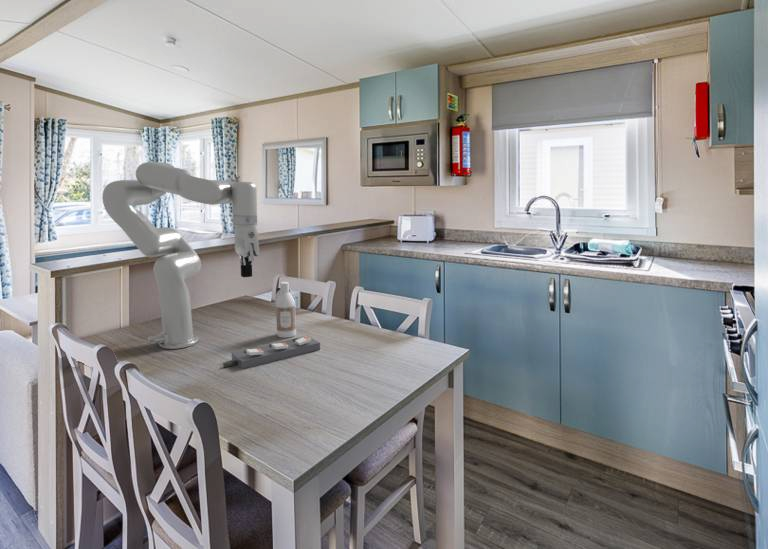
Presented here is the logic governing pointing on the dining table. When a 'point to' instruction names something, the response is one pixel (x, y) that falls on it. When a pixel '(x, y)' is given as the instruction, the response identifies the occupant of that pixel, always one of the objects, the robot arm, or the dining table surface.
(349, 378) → the dining table surface
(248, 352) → the rocker left
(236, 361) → the power strip
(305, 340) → the rocker right
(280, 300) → the bath foam
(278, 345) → the rocker middle
